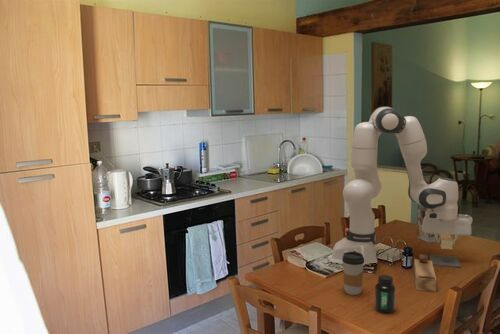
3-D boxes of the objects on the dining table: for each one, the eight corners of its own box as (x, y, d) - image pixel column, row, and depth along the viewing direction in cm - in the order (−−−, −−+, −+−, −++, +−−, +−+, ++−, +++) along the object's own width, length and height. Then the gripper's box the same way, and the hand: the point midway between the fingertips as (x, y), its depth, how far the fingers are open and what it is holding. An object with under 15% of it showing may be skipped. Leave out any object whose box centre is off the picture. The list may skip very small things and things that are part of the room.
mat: (431, 265, 189) (431, 263, 189) (428, 255, 200) (428, 254, 200) (460, 267, 185) (460, 266, 185) (456, 257, 196) (456, 256, 196)
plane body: (416, 289, 165) (417, 270, 164) (413, 270, 184) (414, 252, 183) (435, 292, 163) (436, 272, 162) (431, 271, 182) (432, 254, 180)
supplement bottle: (386, 315, 146) (387, 283, 144) (370, 308, 152) (371, 276, 150) (398, 309, 150) (399, 277, 148) (382, 302, 156) (383, 271, 154)
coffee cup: (347, 285, 171) (348, 249, 168) (367, 290, 166) (368, 254, 163) (338, 292, 164) (338, 256, 162) (358, 298, 159) (358, 260, 157)
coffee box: (438, 241, 219) (439, 211, 216) (428, 243, 217) (429, 212, 215) (426, 236, 228) (427, 207, 225) (416, 237, 226) (417, 208, 223)
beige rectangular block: (441, 248, 188) (441, 240, 187) (439, 242, 196) (439, 233, 196) (452, 249, 186) (452, 240, 186) (449, 242, 195) (450, 234, 194)
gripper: (471, 213, 189) (470, 242, 191) (422, 210, 195) (421, 239, 197) (473, 216, 183) (472, 247, 185) (422, 214, 189) (422, 243, 191)
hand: (445, 243), depth 191 cm, fingers closed on beige rectangular block, 4 cm apart
